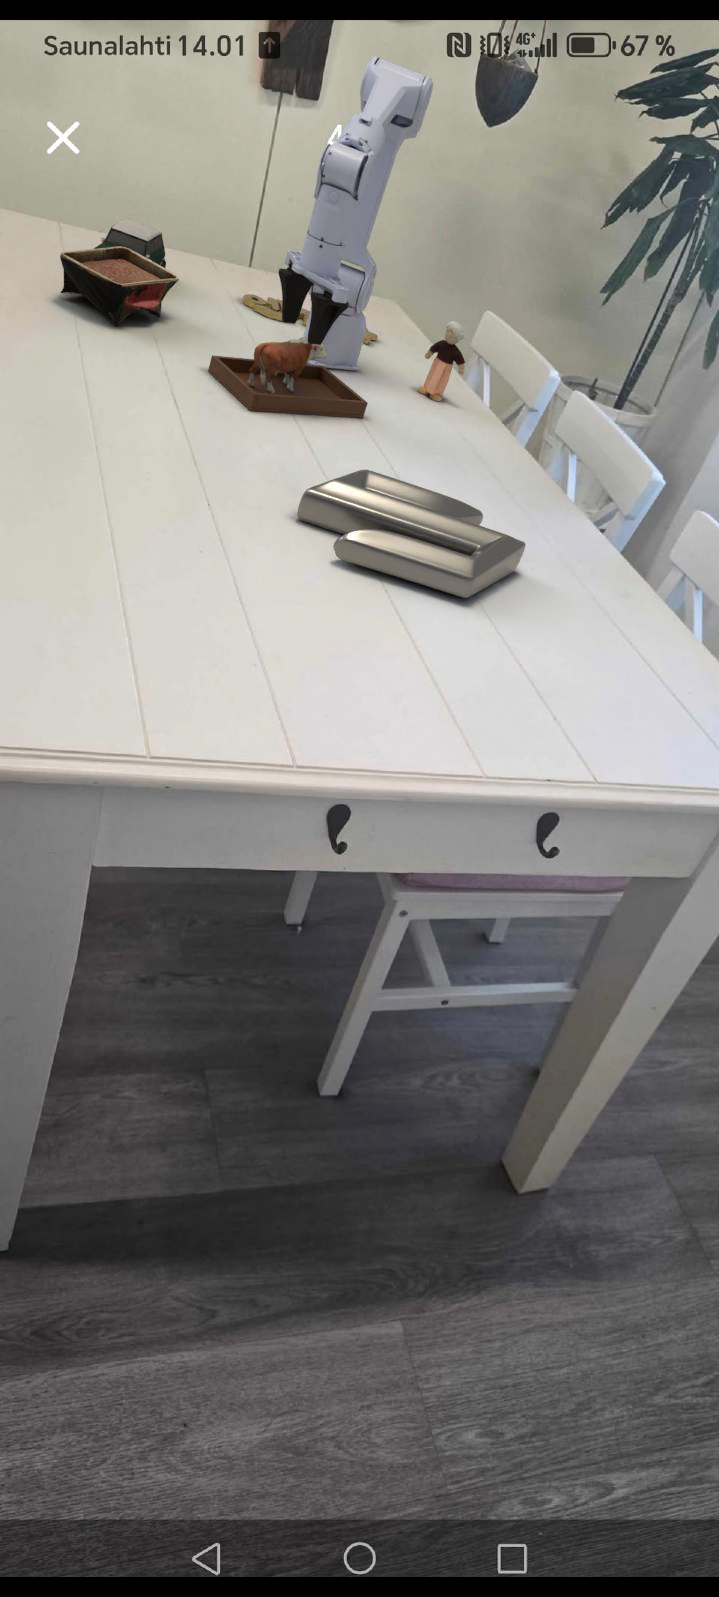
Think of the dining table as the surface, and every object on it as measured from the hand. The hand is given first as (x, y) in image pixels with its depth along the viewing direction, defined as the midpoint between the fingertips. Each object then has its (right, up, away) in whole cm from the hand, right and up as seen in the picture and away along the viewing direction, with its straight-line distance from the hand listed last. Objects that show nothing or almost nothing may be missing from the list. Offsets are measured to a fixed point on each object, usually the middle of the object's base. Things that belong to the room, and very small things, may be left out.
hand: (301, 332), depth 181 cm
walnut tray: (-3, -8, +5) cm, 9 cm away
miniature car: (-31, +20, +28) cm, 47 cm away
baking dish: (-31, +8, +12) cm, 34 cm away
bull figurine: (-4, -7, +5) cm, 9 cm away
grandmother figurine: (+21, -1, +26) cm, 34 cm away
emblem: (+15, -37, -26) cm, 47 cm away
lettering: (0, +17, +39) cm, 43 cm away
